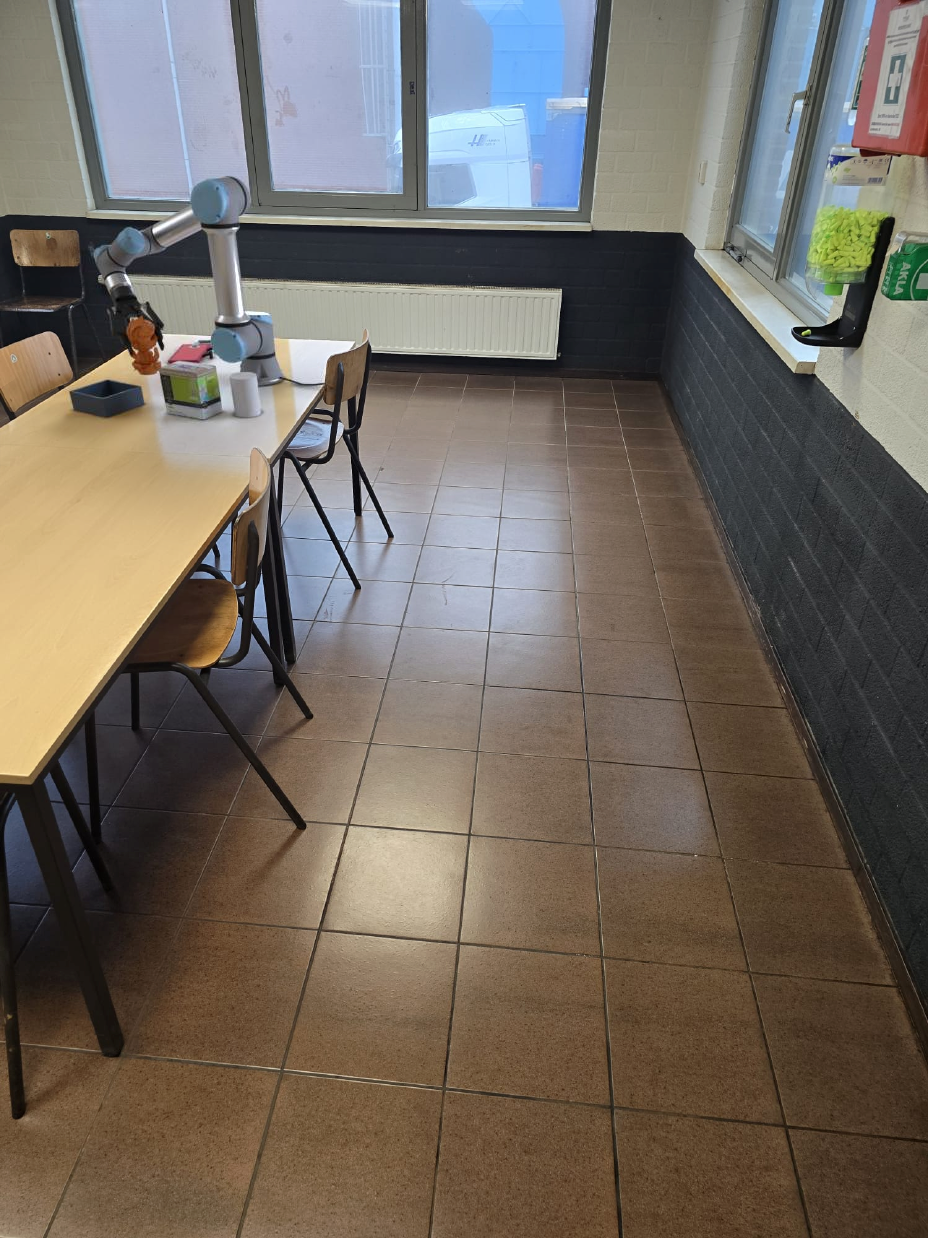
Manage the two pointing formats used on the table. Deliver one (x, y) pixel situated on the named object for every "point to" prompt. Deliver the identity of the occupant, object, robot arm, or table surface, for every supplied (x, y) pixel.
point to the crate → (107, 398)
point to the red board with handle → (193, 352)
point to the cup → (245, 394)
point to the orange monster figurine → (143, 346)
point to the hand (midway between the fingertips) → (147, 350)
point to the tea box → (191, 389)
